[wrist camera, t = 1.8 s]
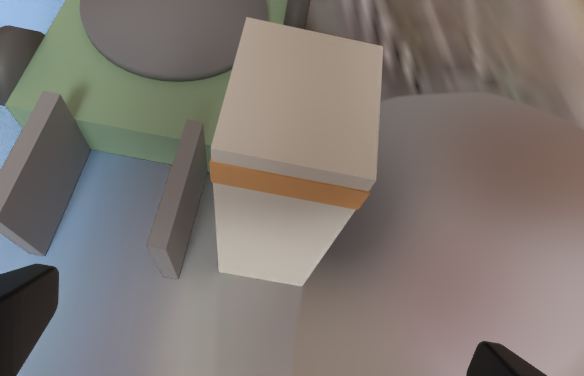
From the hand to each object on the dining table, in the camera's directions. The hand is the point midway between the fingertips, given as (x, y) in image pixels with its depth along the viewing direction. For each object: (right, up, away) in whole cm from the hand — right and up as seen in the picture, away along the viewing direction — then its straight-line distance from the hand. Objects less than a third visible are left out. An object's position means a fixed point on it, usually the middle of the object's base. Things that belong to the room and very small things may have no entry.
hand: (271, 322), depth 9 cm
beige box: (-1, 0, +14) cm, 15 cm away
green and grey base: (-8, +8, +17) cm, 21 cm away
